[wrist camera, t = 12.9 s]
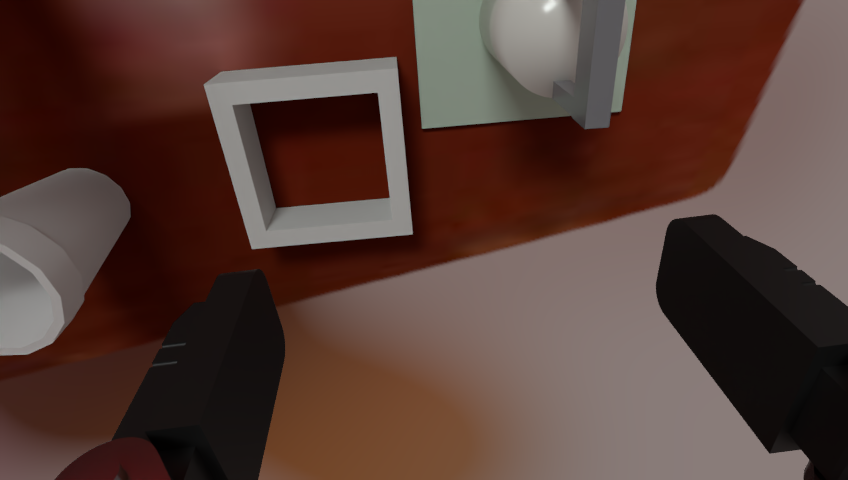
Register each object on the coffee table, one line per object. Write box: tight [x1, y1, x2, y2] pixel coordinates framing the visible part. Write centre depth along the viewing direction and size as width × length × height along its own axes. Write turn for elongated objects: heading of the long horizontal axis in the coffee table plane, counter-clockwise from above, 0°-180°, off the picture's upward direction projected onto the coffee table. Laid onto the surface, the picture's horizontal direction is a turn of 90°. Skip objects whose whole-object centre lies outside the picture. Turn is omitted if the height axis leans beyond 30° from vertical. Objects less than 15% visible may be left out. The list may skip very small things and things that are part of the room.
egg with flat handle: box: [479, 0, 628, 129], centre depth 29 cm, size 7×7×15 cm
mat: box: [413, 0, 637, 129], centre depth 35 cm, size 16×16×1 cm
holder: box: [204, 57, 413, 249], centre depth 38 cm, size 13×13×4 cm
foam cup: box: [0, 168, 131, 355], centre depth 35 cm, size 10×9×13 cm
